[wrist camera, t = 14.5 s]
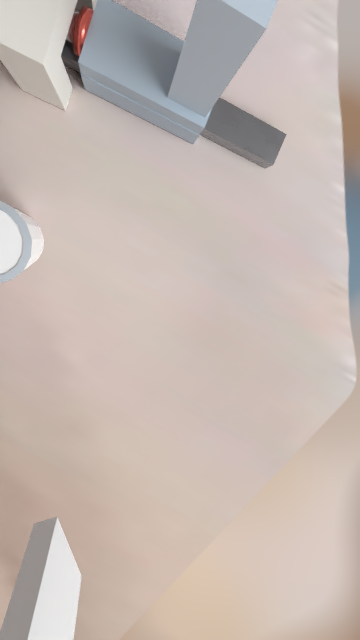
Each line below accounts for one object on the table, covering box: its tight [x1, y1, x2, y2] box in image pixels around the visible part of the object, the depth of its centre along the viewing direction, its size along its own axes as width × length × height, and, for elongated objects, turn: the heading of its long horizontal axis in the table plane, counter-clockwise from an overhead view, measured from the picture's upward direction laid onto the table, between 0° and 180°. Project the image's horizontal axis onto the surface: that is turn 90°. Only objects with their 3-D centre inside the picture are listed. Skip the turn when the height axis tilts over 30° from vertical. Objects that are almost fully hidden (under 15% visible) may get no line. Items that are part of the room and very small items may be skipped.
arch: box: [0, 0, 97, 111], centre depth 26 cm, size 4×10×9 cm, turn 158°
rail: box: [61, 40, 286, 168], centre depth 31 cm, size 24×3×2 cm, turn 68°
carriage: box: [78, 0, 278, 144], centre depth 23 cm, size 11×5×18 cm, turn 68°
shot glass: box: [0, 201, 44, 283], centre depth 30 cm, size 7×7×7 cm
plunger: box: [66, 6, 94, 56], centre depth 26 cm, size 9×3×3 cm, turn 68°
